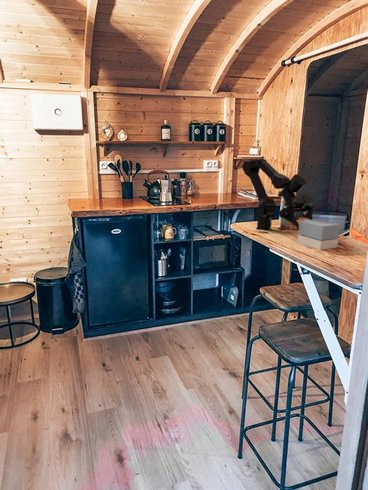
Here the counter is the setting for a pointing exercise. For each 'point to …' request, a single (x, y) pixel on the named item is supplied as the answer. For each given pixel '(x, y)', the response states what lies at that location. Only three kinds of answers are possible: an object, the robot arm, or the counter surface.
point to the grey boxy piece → (318, 228)
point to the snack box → (283, 222)
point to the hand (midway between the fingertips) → (305, 225)
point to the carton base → (317, 242)
